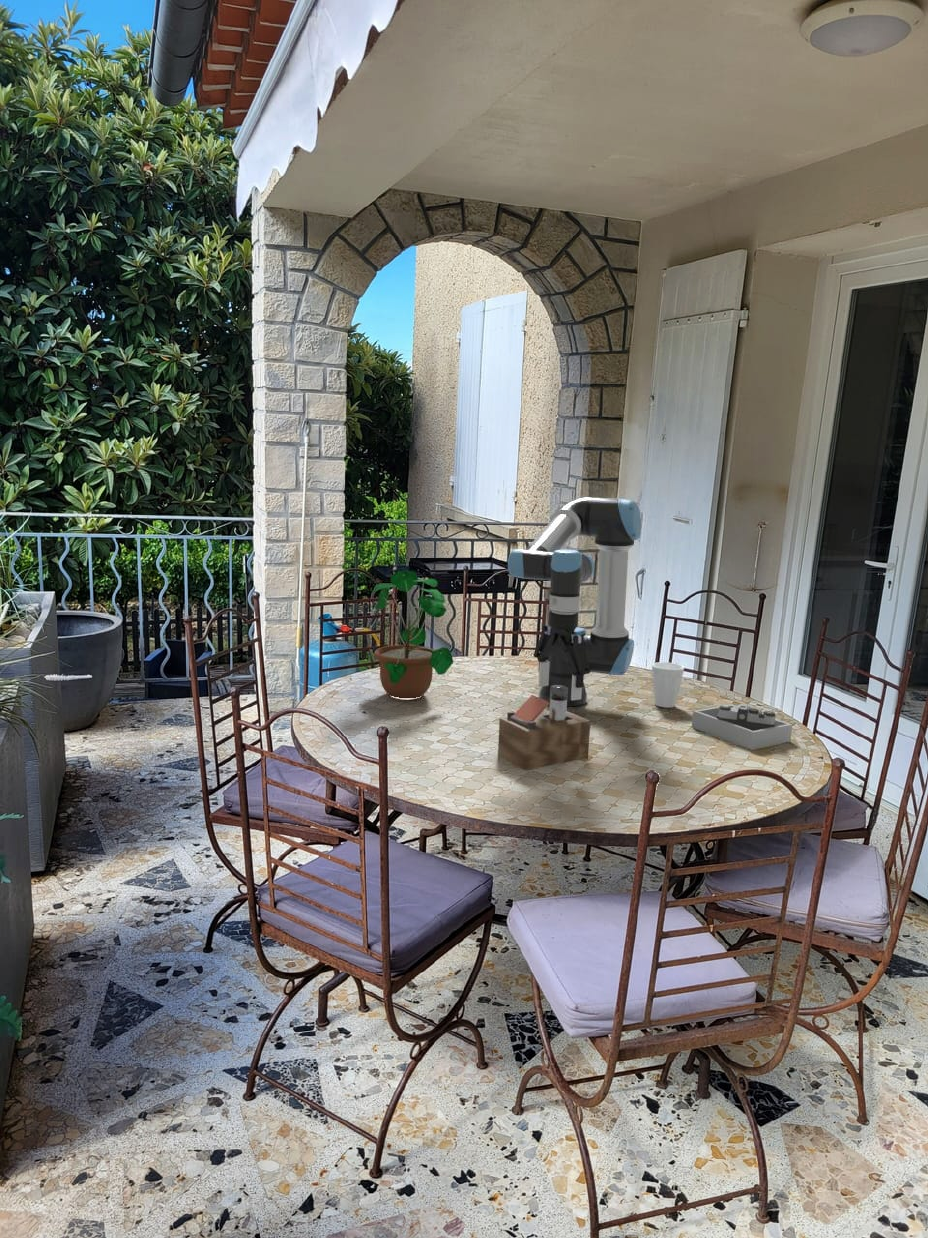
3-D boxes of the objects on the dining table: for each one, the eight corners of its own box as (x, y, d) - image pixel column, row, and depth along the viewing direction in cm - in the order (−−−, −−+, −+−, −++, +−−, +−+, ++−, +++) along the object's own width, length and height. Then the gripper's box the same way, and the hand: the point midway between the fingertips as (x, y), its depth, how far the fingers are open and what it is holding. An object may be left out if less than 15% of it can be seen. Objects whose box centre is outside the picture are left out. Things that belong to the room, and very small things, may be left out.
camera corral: (729, 720, 265) (730, 704, 264) (790, 741, 246) (792, 724, 245) (691, 727, 256) (693, 710, 255) (752, 750, 238) (753, 732, 237)
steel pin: (556, 743, 231) (560, 684, 228) (567, 748, 228) (571, 688, 225) (543, 745, 229) (547, 686, 226) (554, 750, 225) (558, 690, 222)
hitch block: (559, 744, 237) (561, 702, 234) (587, 758, 227) (590, 714, 225) (497, 755, 226) (499, 712, 224) (525, 770, 216) (527, 725, 214)
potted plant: (426, 715, 258) (430, 582, 251) (349, 698, 273) (351, 572, 266) (480, 693, 284) (485, 572, 277) (407, 678, 299) (410, 563, 291)
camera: (773, 736, 252) (777, 703, 250) (772, 747, 243) (776, 712, 241) (717, 728, 257) (720, 695, 255) (714, 738, 248) (717, 704, 246)
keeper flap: (533, 696, 226) (531, 694, 225) (550, 703, 220) (548, 701, 219) (511, 720, 223) (509, 717, 223) (528, 728, 217) (526, 725, 217)
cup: (646, 707, 275) (649, 667, 272) (651, 700, 284) (654, 660, 281) (678, 712, 271) (681, 671, 269) (683, 704, 280) (686, 664, 278)
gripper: (522, 604, 230) (519, 682, 234) (583, 622, 209) (578, 707, 213) (545, 602, 234) (541, 678, 238) (607, 619, 213) (602, 703, 217)
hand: (559, 692), depth 226 cm, fingers open, 13 cm apart
